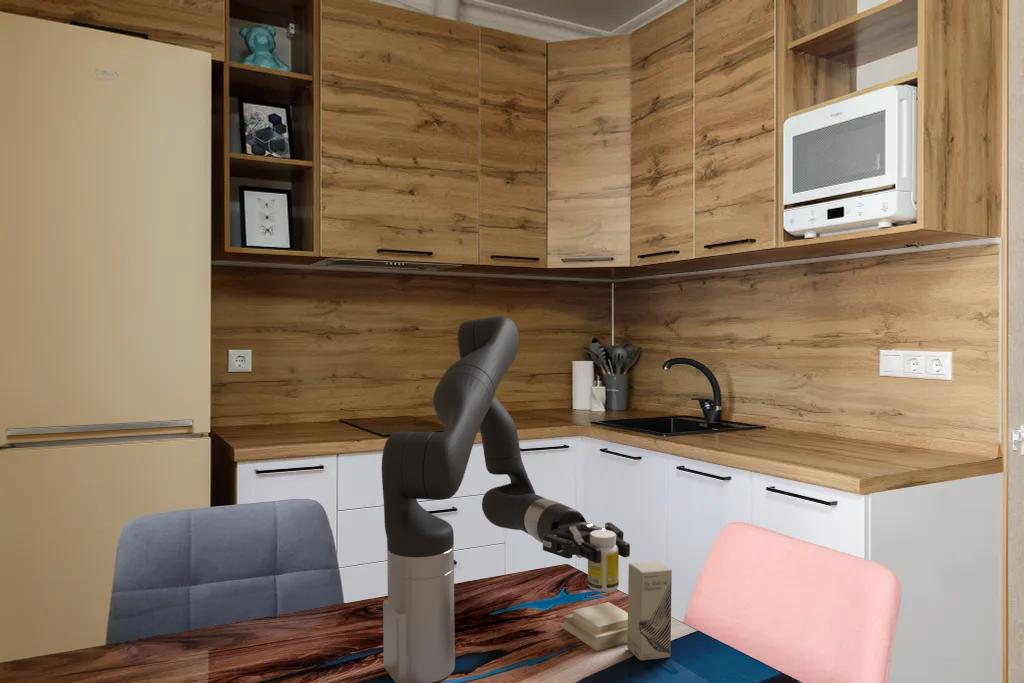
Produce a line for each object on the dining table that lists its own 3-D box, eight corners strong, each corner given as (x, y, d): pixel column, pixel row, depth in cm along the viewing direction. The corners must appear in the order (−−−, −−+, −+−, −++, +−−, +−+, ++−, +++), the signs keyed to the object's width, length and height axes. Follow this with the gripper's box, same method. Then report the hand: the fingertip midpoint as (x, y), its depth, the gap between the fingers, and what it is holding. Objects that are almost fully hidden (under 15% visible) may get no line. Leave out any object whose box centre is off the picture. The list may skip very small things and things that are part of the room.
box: (639, 662, 101) (639, 572, 101) (626, 648, 105) (626, 562, 105) (673, 657, 102) (673, 569, 102) (658, 644, 107) (658, 559, 106)
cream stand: (596, 651, 104) (596, 630, 104) (563, 628, 112) (563, 609, 112) (645, 637, 109) (645, 618, 109) (609, 616, 117) (609, 598, 117)
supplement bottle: (617, 581, 113) (617, 529, 112) (619, 593, 108) (619, 538, 108) (587, 580, 113) (587, 528, 113) (587, 592, 108) (587, 537, 108)
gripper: (518, 508, 119) (574, 536, 104) (588, 497, 126) (650, 522, 111) (518, 552, 120) (574, 586, 105) (588, 539, 126) (650, 569, 112)
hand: (613, 553), depth 108 cm, fingers closed on supplement bottle, 4 cm apart
